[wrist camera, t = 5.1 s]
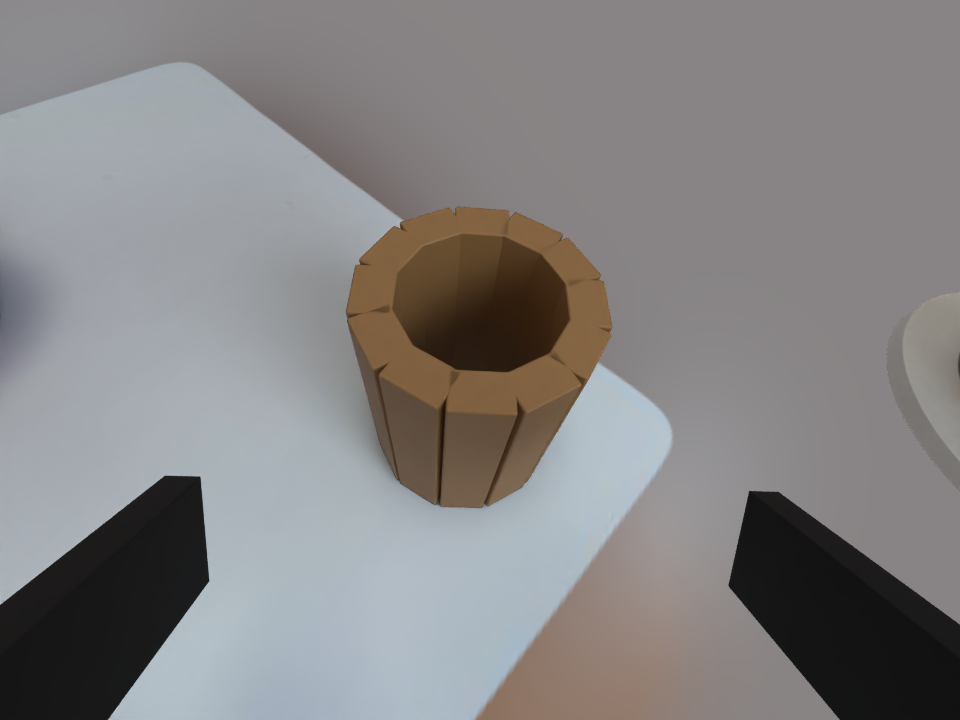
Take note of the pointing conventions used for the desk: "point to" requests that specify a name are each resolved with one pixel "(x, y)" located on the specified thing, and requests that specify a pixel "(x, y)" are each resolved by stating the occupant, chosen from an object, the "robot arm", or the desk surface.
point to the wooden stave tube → (473, 347)
